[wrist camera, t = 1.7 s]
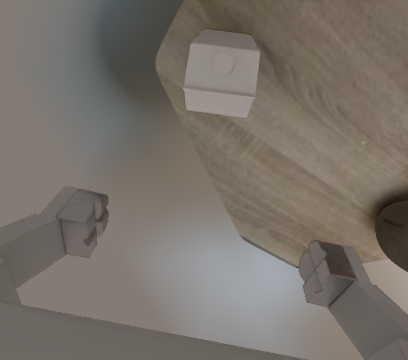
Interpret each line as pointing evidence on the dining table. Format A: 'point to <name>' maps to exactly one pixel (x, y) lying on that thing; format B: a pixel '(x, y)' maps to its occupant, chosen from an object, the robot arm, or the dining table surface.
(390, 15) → the dining table surface
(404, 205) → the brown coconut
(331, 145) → the dining table surface
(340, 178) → the dining table surface
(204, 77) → the milk carton
